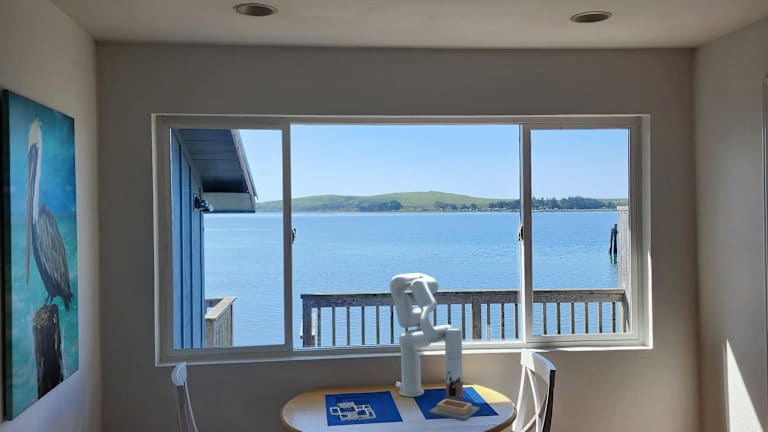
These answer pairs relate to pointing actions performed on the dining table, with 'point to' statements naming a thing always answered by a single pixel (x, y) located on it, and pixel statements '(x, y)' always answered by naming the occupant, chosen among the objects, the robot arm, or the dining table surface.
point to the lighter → (458, 390)
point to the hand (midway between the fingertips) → (454, 394)
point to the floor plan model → (350, 417)
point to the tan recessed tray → (454, 409)
